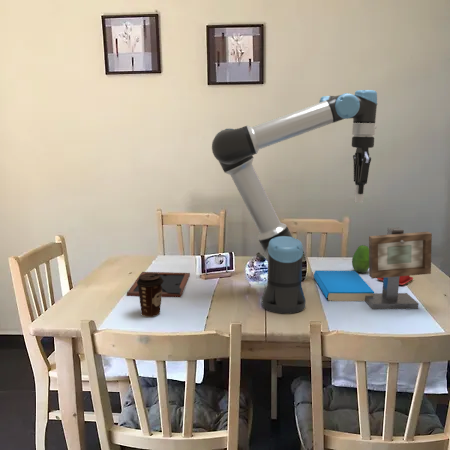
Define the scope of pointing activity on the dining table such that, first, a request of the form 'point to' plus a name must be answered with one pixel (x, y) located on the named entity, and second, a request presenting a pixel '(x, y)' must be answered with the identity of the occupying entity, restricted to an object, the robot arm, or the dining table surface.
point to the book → (342, 285)
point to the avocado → (361, 259)
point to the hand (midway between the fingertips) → (358, 202)
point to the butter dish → (401, 279)
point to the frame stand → (391, 291)
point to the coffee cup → (150, 294)
